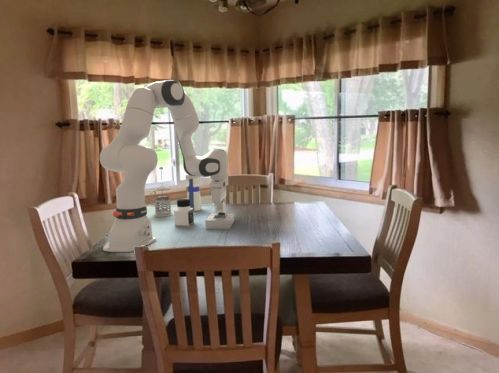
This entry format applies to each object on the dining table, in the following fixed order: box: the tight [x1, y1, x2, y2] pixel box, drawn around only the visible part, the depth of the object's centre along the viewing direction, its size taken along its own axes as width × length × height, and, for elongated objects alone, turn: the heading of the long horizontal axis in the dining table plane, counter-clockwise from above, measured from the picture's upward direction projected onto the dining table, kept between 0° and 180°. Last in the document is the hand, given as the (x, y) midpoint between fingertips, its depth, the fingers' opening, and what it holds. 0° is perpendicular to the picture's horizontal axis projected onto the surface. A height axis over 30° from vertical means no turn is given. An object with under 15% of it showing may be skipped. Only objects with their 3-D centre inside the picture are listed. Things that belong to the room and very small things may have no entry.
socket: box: [204, 211, 235, 230], centre depth 191 cm, size 14×11×5 cm
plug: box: [214, 198, 226, 213], centre depth 205 cm, size 4×4×9 cm
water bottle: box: [185, 174, 202, 212], centre depth 224 cm, size 8×9×25 cm
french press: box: [148, 166, 174, 218], centre depth 213 cm, size 10×12×25 cm
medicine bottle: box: [173, 197, 195, 227], centre depth 194 cm, size 7×7×12 cm
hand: (220, 209), depth 205 cm, fingers closed on plug, 4 cm apart
